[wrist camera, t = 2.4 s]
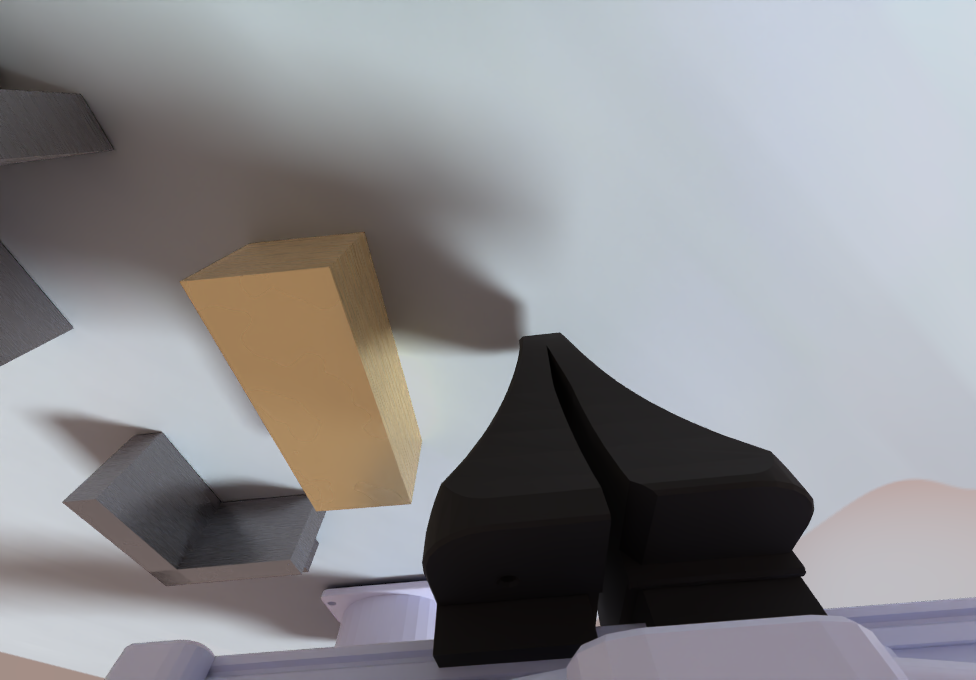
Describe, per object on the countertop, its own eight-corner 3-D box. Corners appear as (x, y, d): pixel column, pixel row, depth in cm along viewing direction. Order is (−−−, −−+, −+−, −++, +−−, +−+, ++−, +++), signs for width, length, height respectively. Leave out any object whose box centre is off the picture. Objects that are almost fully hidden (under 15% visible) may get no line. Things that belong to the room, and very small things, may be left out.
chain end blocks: (346, 541, 19) (326, 605, 17) (239, 550, 19) (203, 615, 17) (-28, -89, 7) (-317, -207, 4) (-303, -44, 7) (-727, -132, 5)
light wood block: (422, 436, 16) (411, 503, 13) (344, 443, 16) (316, 511, 13) (366, 229, 11) (329, 266, 8) (254, 241, 11) (179, 281, 8)
